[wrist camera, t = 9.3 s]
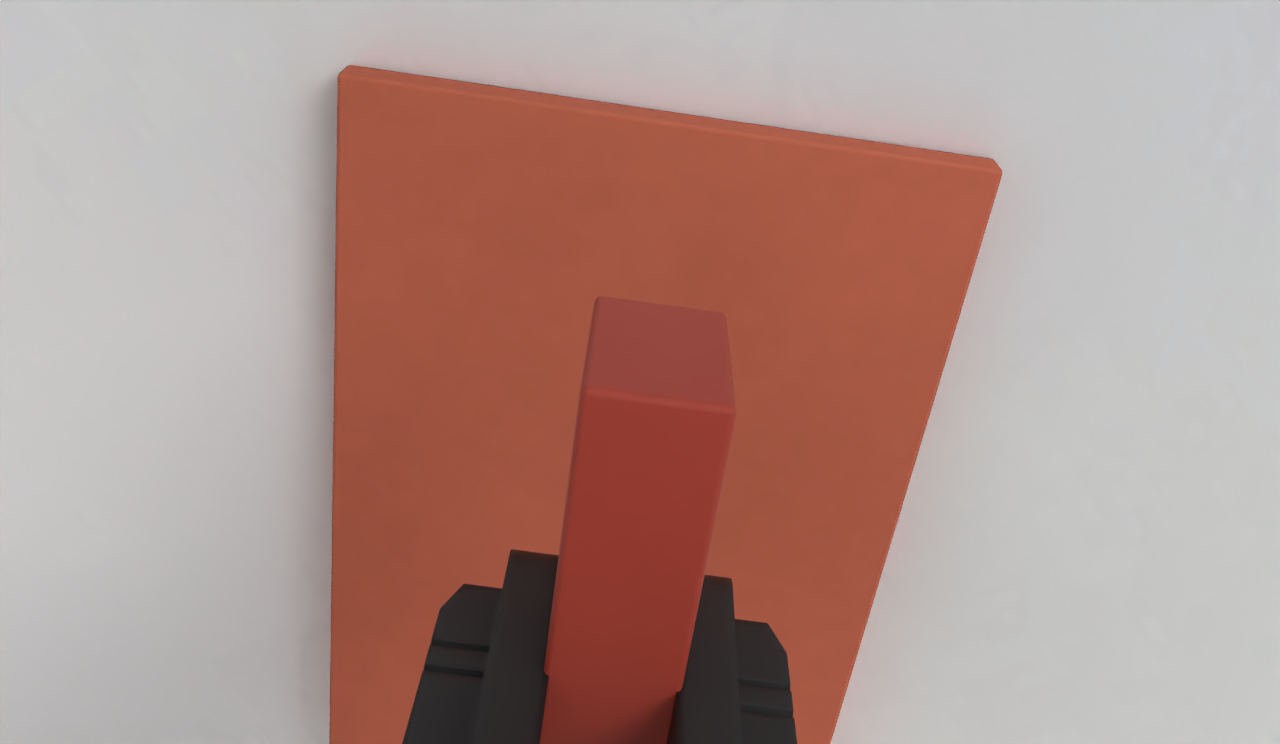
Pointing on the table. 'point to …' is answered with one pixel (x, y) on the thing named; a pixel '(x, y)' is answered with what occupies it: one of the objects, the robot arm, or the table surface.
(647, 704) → the red wooden stick
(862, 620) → the red mat
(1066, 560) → the table surface
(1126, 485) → the table surface
